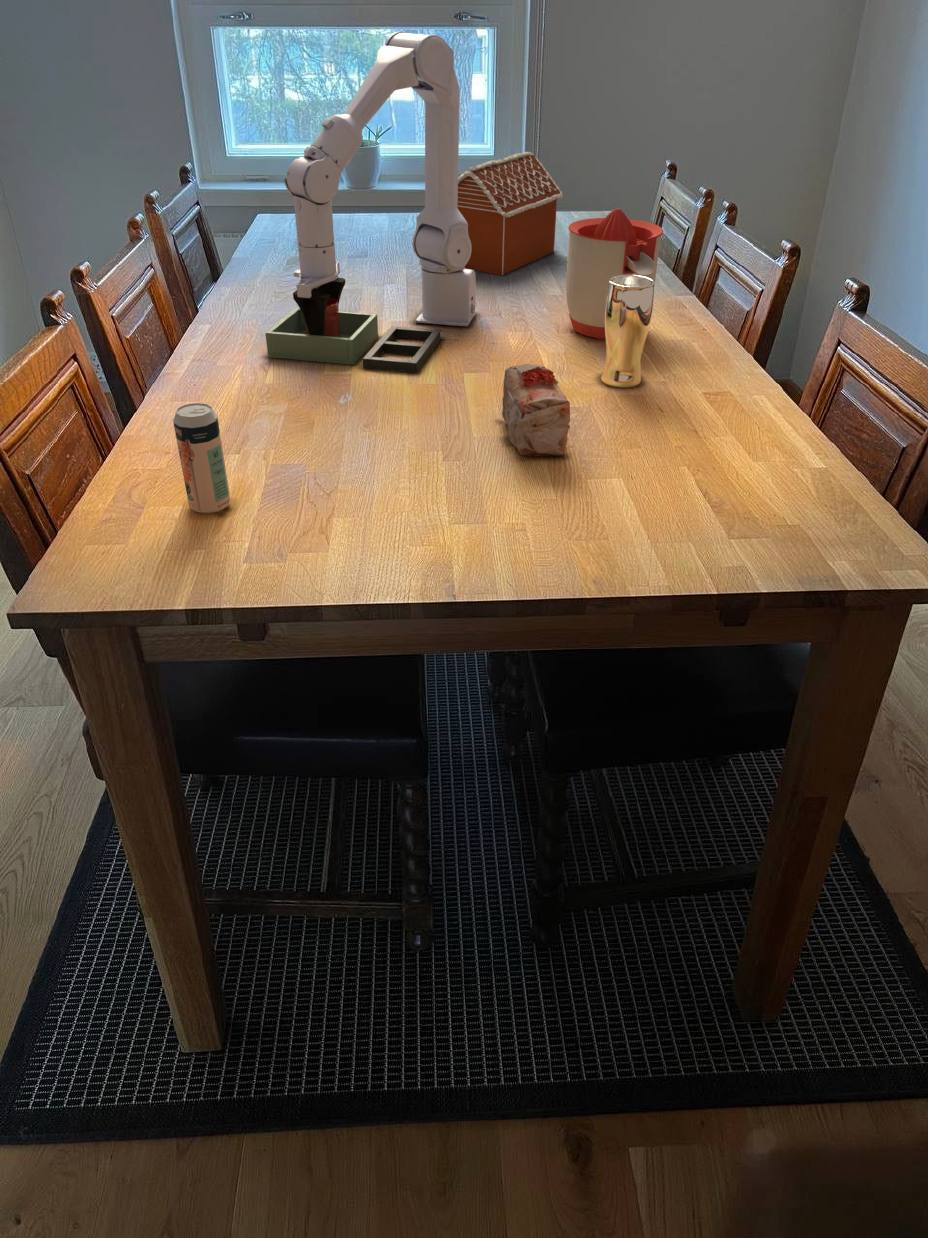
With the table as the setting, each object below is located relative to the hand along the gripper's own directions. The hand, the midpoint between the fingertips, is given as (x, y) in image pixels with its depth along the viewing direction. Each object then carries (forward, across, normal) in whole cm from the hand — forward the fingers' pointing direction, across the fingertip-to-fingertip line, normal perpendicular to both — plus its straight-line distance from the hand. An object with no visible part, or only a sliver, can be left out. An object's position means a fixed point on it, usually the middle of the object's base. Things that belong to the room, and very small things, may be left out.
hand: (323, 329), depth 151 cm
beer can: (+3, +56, +6) cm, 56 cm away
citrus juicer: (+3, -20, +46) cm, 50 cm away
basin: (+3, 0, 0) cm, 3 cm away
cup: (+2, 0, 0) cm, 2 cm away
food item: (+3, +28, +40) cm, 49 cm away
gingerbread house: (+3, -64, +18) cm, 66 cm away
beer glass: (+3, +4, +50) cm, 50 cm away
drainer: (+3, 0, +14) cm, 14 cm away
